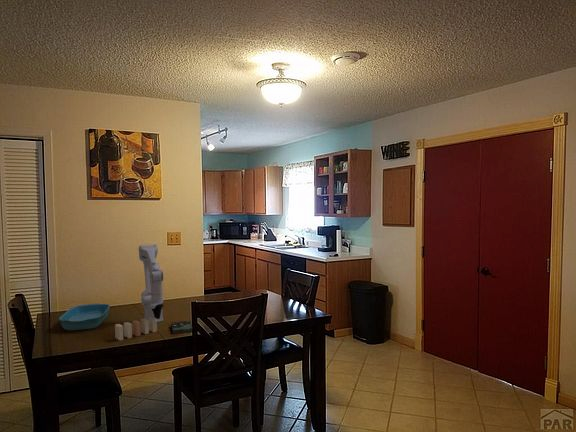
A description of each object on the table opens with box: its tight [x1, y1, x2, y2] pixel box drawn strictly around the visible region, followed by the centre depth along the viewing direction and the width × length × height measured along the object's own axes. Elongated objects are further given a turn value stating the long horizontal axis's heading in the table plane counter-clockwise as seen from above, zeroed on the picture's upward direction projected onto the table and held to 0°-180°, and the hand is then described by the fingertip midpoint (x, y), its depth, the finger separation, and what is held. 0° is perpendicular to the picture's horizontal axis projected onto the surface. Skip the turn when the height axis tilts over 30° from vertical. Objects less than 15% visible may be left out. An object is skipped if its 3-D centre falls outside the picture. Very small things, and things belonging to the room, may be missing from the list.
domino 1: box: [114, 323, 124, 341], centre depth 207 cm, size 2×5×7 cm, turn 45°
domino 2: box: [123, 321, 133, 339], centre depth 211 cm, size 2×5×7 cm, turn 45°
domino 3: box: [131, 319, 142, 337], centre depth 214 cm, size 2×5×7 cm, turn 45°
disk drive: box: [170, 320, 193, 335], centre depth 222 cm, size 10×3×15 cm
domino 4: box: [140, 317, 150, 335], centre depth 217 cm, size 2×5×7 cm, turn 44°
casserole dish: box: [58, 303, 111, 331], centre depth 237 cm, size 37×22×7 cm, turn 12°
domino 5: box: [149, 317, 158, 333], centre depth 220 cm, size 2×5×7 cm, turn 45°
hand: (157, 318), depth 222 cm, fingers closed
